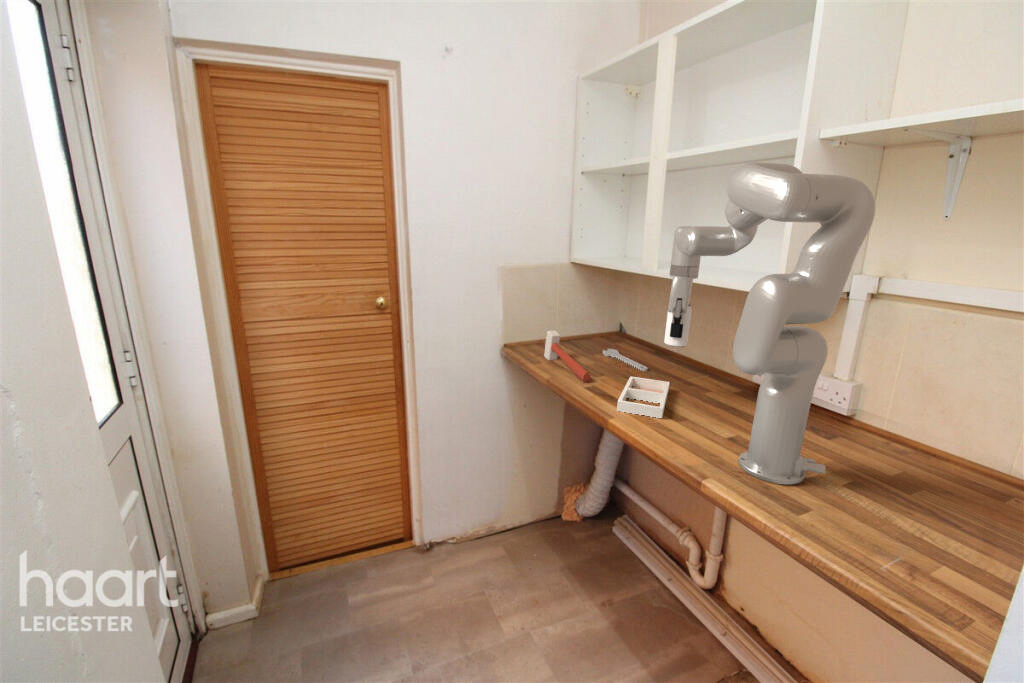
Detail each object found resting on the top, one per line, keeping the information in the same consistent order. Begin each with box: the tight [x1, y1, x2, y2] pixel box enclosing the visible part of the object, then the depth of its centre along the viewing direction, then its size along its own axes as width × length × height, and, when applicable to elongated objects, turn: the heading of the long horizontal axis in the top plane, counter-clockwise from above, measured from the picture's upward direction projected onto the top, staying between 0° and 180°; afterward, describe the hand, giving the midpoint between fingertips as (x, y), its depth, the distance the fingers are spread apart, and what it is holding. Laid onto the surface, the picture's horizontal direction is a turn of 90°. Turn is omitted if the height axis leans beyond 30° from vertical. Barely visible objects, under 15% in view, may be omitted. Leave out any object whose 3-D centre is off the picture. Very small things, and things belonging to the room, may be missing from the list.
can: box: [663, 303, 693, 348], centre depth 135 cm, size 6×6×12 cm
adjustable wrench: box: [602, 348, 649, 372], centre depth 174 cm, size 25×6×2 cm, turn 18°
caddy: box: [616, 376, 670, 419], centre depth 137 cm, size 12×23×3 cm, turn 158°
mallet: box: [543, 330, 592, 383], centre depth 163 cm, size 11×4×30 cm
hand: (676, 335), depth 135 cm, fingers closed on can, 3 cm apart
